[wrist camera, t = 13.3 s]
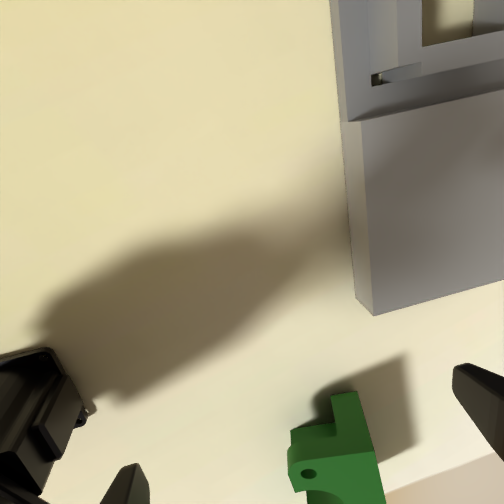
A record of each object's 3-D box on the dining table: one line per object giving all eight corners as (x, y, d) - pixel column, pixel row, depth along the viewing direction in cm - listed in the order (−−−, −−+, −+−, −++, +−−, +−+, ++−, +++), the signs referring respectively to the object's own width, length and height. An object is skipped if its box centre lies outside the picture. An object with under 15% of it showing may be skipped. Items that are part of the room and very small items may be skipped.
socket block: (355, 298, 24) (381, 324, 21) (317, -132, 15) (352, -203, 12) (493, 260, 25) (538, 280, 22) (532, -164, 16) (618, -237, 13)
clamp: (285, 380, 31) (277, 437, 22) (349, 369, 30) (367, 424, 21) (317, 504, 31) (320, 611, 22) (382, 497, 30) (413, 606, 21)
